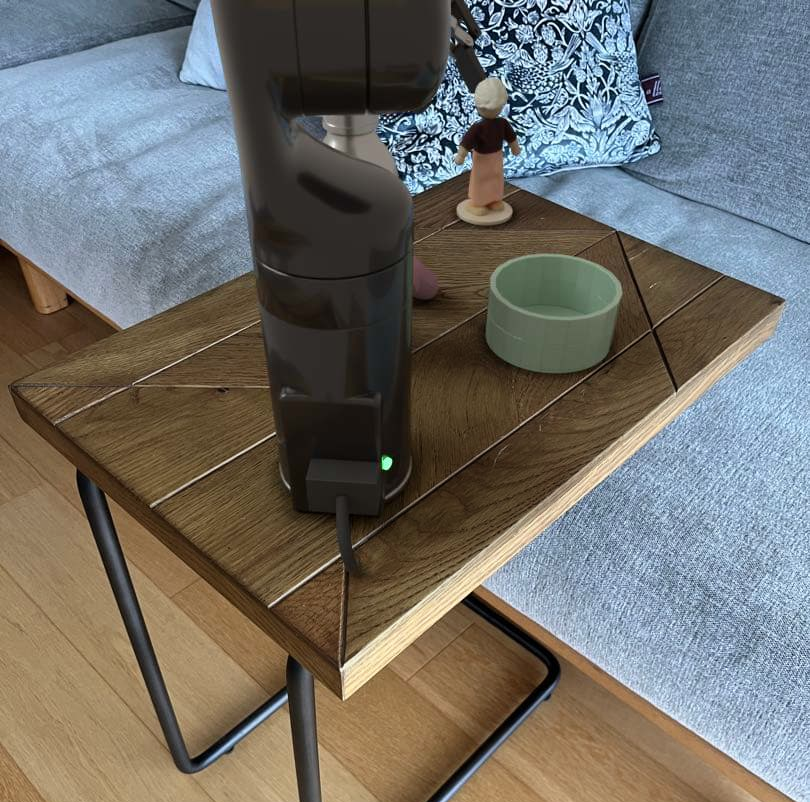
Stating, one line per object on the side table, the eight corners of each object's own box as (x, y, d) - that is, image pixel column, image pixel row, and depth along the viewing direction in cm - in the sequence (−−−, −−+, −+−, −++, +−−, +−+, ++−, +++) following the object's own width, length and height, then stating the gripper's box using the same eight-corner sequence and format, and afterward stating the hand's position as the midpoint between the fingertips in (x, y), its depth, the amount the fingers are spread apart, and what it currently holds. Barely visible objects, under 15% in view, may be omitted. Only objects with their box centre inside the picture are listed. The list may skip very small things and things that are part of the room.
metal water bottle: (304, 348, 69) (280, 92, 55) (370, 324, 72) (363, 74, 58) (346, 385, 66) (332, 121, 51) (413, 357, 68) (418, 100, 54)
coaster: (512, 226, 85) (512, 223, 85) (455, 224, 86) (455, 220, 85) (512, 202, 90) (512, 198, 89) (457, 199, 90) (457, 196, 90)
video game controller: (332, 301, 78) (309, 253, 71) (353, 262, 79) (332, 211, 72) (424, 327, 74) (409, 279, 68) (445, 287, 76) (432, 236, 69)
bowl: (616, 377, 67) (628, 323, 63) (484, 369, 67) (489, 315, 64) (605, 308, 74) (615, 256, 71) (486, 302, 75) (491, 250, 71)
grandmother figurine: (494, 193, 90) (505, 66, 81) (519, 205, 88) (533, 76, 79) (443, 213, 87) (448, 82, 77) (467, 225, 85) (476, 92, 75)
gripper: (334, -76, 73) (426, 94, 76) (440, -97, 80) (520, 60, 83) (300, -17, 79) (386, 138, 82) (401, -41, 86) (476, 103, 89)
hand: (453, 99), depth 83 cm, fingers open, 8 cm apart
